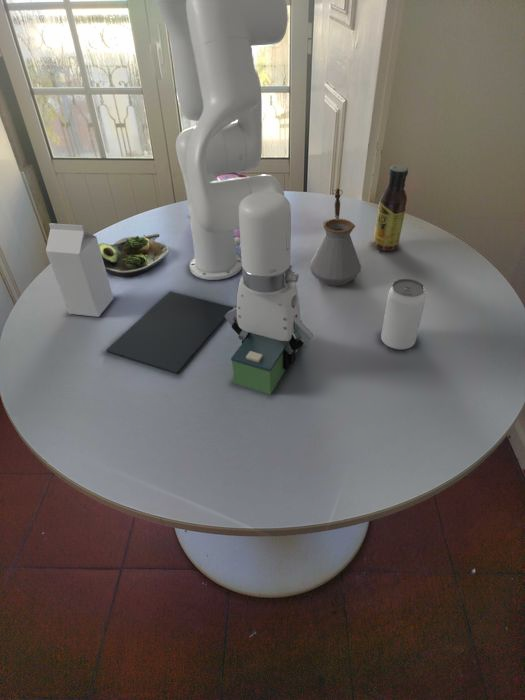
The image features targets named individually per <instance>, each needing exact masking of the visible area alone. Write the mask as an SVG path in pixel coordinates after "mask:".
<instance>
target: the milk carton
mask: <svg viewBox="0 0 525 700" xmlns="http://www.w3.org/2000/svg"><path fill="white" fill-rule="evenodd" d="M48 226H49V228H50V229H49V233H48V238H47V243H46V247H45V252H46V256H47V258H48V260H49V263H50V266H51V269H52V272H53V274H54V277H55V280H56V282H57V286H58V288H59V292H60V293H61V296H62V299H63V302H64V305H65V307H66V310H67V314H69V315H77V316H88V317H95V318H98V317H100V316H101V315H102V314H103V312H104V311H105V310H106V309H107V308H108V306H109V305H110V304H111V302H112V301H113V300H114V294H113V289H112V288H111V287H112V286H111V284H110V280H109V276H108V273H107V272H106V269H105V266H104V262H103V258H102V255H101V251H100V248H99V244H100V243H99V240H98V237H97V236H96V235H94V234H92V233H90V232H88V231H86V230H85V229H84V226H83V224H82V225H81V224H67V223H52V222H50V223H48Z"/></svg>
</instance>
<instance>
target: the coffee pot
mask: <svg viewBox="0 0 525 700" xmlns="http://www.w3.org/2000/svg"><path fill="white" fill-rule="evenodd" d="M334 192H335V193H334ZM343 193H344V192H343V190H342V189H340V188H336V189H334V190H333V191H332V194H333V195H334V198H335V201H334V217H335V218H331V219H327V220H325V221H324V222H323V225H322V227H323V229H324V230H325V234H324V236H323V238H322V239H321V241H320V244H319V245H318V247H317V249H316V251H315V253H314V255H313V257H312V258H311V260H310V263H309V269H310V272H311V274H312V275H313V277H315V279H317V280H318V281H319V282H321V283H322V284H324V285H326V286H331V287H338V286H340V287H341V286H344V285H347V284H348V283H350V282H351V281H353V280H354V279H356V278H357V277H358V275H359V273H360V272H361V266H362V265H361V263H360V259H359V257H358V254H357V252H356V248H355V246H354V243H353V240H352V237H351V233H352V232H353V230H354V229H355V228H356V225H355V224H354V223H353V222H352V221H350V220H349V219H345V218H340V211H341V200H340V198H341V196H342V194H343Z"/></svg>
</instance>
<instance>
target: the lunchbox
mask: <svg viewBox="0 0 525 700" xmlns="http://www.w3.org/2000/svg"><path fill="white" fill-rule="evenodd" d="M300 321H301V322H302V323H303V321H302V320H300ZM293 332H294V334H295V336H296V338H298V337H300V336H301V335H300V334H299V333H298V332H297V331H296V330H295V329H293ZM289 341H290V340H289ZM299 350H300V348H298V349H297V350H296V353H295V355H296V354H297V352H298V351H299ZM284 351H285V348H284V346H283V344H282V342H281V340H276V339H272V338H268V337H264V336H261V335H257V334H253V333H250V334H249V335H248V337H247V338H246V339H245V341H244V342H243V343H242V342H241V345H240V346H239V347H238V348H237V350H236V351H235V352H234V354H233V355H232V356H231V358H230V360H231V363H232V372H233V383H234V384H236V385H238V386H241V387H245V388H248V389H251V390H254V391H258V392H261V393H263V394H264V393H265V394H267V395H271V394H272V393H273V392H274V390H275V388H276V387H277V386H278V383H279V381H280V380H281V379H282V377H283V375H284V374H285V372H286V370H284V368H283V353H284Z"/></svg>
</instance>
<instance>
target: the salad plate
mask: <svg viewBox="0 0 525 700" xmlns="http://www.w3.org/2000/svg"><path fill="white" fill-rule="evenodd" d="M159 237H160V233H153V234H149V235H146V234H143V236H139V235H136V236H127V237H122V238H120V239H119V240H117V241H115V242H112V243H110V244H109V243H104V242H101V243H98V244H99V248H100V251H101V255H102V258H103V262H104V266H105V269H106V273H107V274H109V275H110V276H115V277H121V278H132V277H135V276H138V275H141V274H144V273H145V272H148V270H150V269H152V268H153V267H154V266H155V265H157V264H158V263H159V262H161V261H162V260H163V259H164V258H165V257H167V256H168V254H169V252H170V248H169V246H168V245H167V244H165V243H162V242H159V241H156V239H158V238H159Z"/></svg>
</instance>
